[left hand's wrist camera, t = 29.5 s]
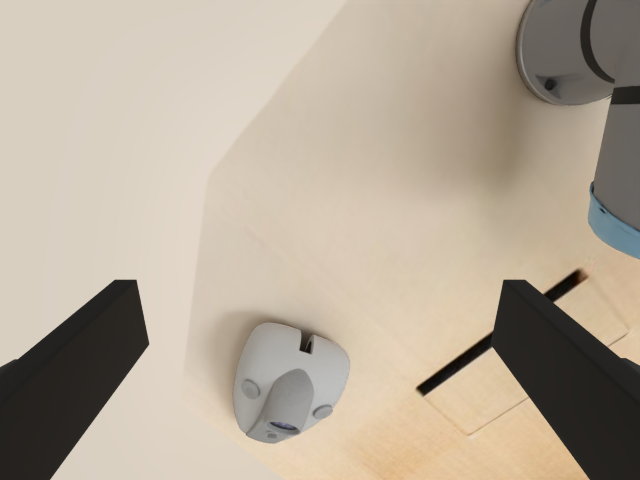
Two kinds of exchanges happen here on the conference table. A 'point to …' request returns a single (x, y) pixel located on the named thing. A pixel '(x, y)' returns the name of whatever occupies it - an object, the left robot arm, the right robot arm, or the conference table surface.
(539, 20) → the left robot arm
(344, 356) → the projector
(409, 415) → the conference table surface
